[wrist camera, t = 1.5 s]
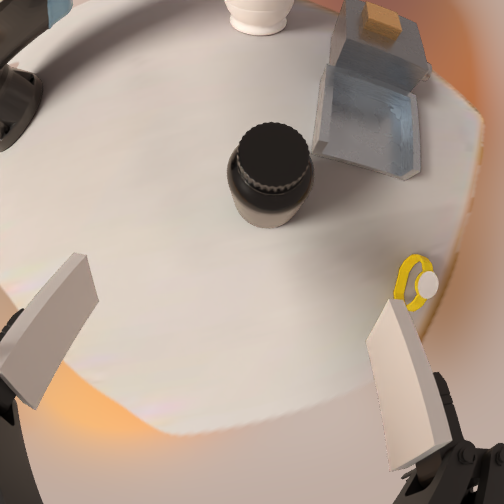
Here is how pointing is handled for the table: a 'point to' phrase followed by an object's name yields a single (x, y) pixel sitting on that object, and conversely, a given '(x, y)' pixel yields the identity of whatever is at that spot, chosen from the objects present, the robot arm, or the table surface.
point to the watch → (417, 282)
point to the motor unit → (372, 92)
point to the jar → (259, 15)
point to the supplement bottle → (270, 174)
